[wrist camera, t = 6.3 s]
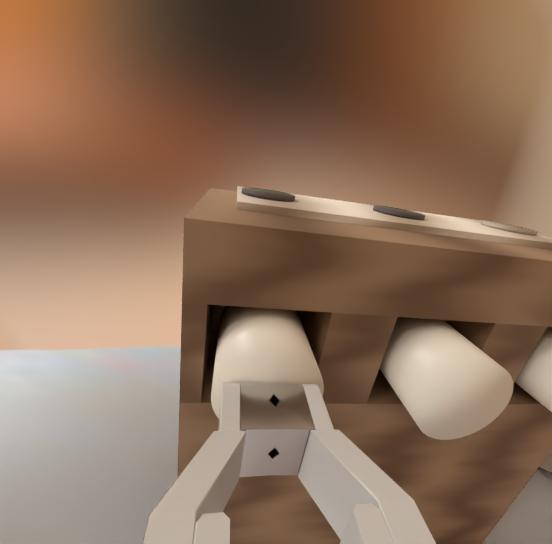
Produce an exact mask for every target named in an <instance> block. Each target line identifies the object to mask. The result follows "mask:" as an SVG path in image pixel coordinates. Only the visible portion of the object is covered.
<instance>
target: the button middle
mask: <svg viewBox="0 0 552 544" xmlns="http://www.w3.org/2000/svg"><path fill="white" fill-rule="evenodd" d="M379 369H380V370H381V372H382V373H383V375H384V376H385V378H386V379H387V381H388V382H389V384H390V385H391V387H392V388H393V390H394V391H395V393H396V394H397V396H398V397H399V399H400V400H401V402H402V403H403V405H404V406H405V408H406V409H407V411H408V412H409V414H410V415H411V417H412V418H413V420H414V421H415V423H416V424H417V426H418V427H419V428H420V430H421V431H422V432H423V433H424V434H425V435H427V436H429V437H431V438H434V439H439V440H451V439H457V438H461V437H465V436H468V435H470V434H472V433H475V432H477V431H479V430H481V429H482V428H484V427H485V426H487V425H488V424H490V423H491V422H492V421H493V420H495V419H496V418H497V417H498V416H499V415H500V414H501V413H502V411H503V410H504V409H505V407H506V406H507V405H508V403H509V401H510V399H511V396H512V393H513V380H512V377H511V375H510V373H509V372H508V371H507V370H506V369H504V368H503V367H502V366H500V365H499V364H498V363H497V362H495V361H494V360H493V359H492V358H490V357H489V356H488V355H487V354H485V353H484V352H483V351H482V350H480V349H479V348H478V347H476V346H475V345H474V344H473V343H471V342H470V341H469V340H468V339H466V338H465V337H464V336H463V335H461V334H460V333H459V332H458V331H456V330H455V329H454V328H452V327H451V326H450V325H449V324H447V323H446V322H445V321H444V320H438V319H422V318H407V317H397V320H396V323H395V326H394V329H393V331H392V334H391V337H390V340H389V343H388V345H387V348H386V351H385V354H384V356H383V359H382V362H381V365H380V368H379Z"/></svg>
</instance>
